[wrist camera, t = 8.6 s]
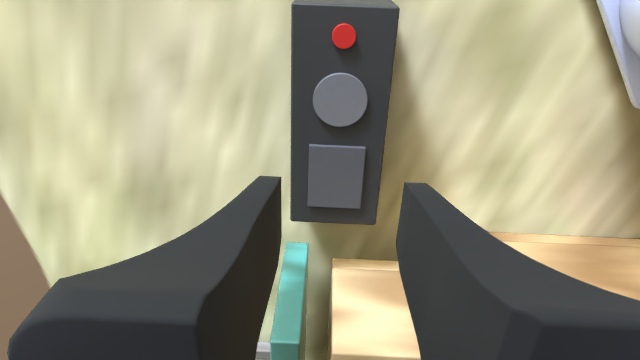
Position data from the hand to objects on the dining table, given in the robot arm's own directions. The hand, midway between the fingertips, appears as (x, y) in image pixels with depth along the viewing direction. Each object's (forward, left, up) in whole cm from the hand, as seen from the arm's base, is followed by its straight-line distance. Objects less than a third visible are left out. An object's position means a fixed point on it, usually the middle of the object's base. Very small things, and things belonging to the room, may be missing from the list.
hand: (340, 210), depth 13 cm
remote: (0, 0, -9) cm, 9 cm away
